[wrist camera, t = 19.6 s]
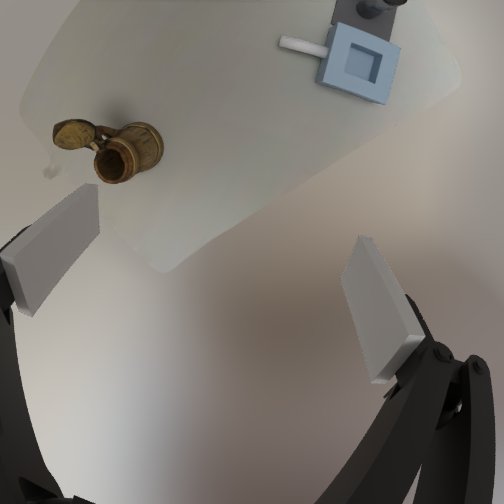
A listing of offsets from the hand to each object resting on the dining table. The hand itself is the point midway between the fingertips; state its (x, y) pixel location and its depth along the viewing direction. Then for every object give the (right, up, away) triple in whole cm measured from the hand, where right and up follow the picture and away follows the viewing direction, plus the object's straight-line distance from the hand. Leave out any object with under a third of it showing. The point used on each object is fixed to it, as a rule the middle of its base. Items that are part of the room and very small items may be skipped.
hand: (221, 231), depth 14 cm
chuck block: (+14, +30, +23) cm, 40 cm away
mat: (+20, +38, +18) cm, 46 cm away
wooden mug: (-19, +19, +32) cm, 42 cm away
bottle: (+20, +38, +17) cm, 46 cm away
